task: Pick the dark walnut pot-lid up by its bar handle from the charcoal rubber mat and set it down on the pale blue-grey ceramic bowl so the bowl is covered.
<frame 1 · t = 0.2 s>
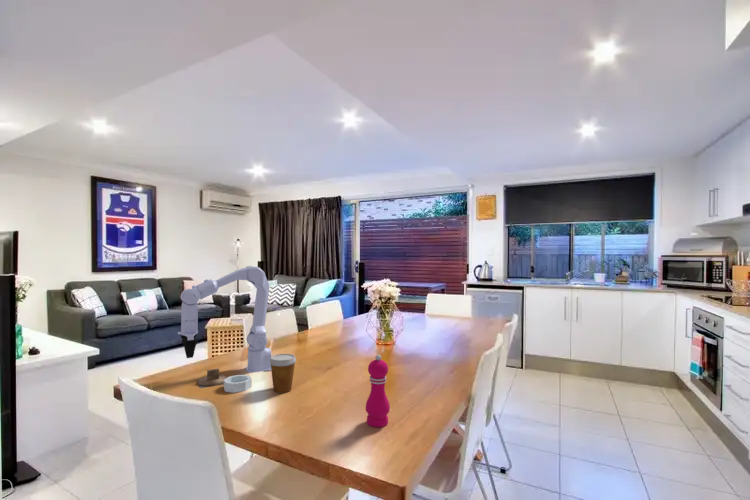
hand: (189, 355, 142), 10 cm above the table, fingers open, 7 cm apart
mat: (212, 382, 140), on the table
pepper mill: (377, 423, 109), on the table
disposable coffee cup: (282, 390, 134), on the table
lid: (213, 381, 140), resting on mat
bowl: (237, 388, 134), on the table
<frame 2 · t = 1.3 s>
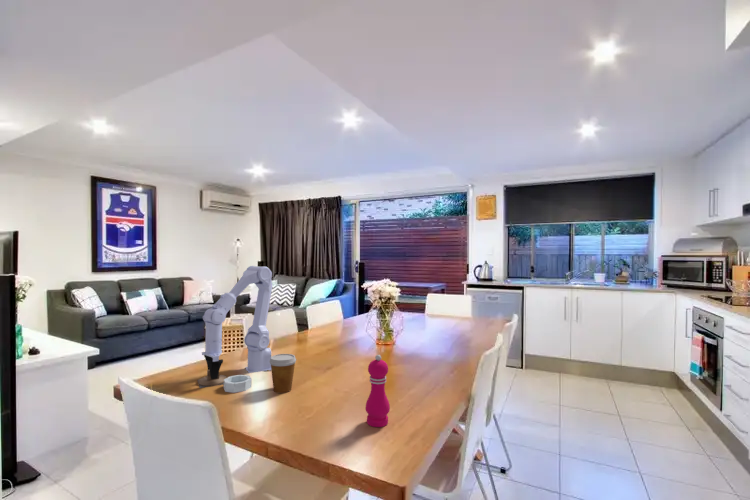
hand: (212, 375, 140), 3 cm above the table, fingers open, 7 cm apart
nothing on the table moved.
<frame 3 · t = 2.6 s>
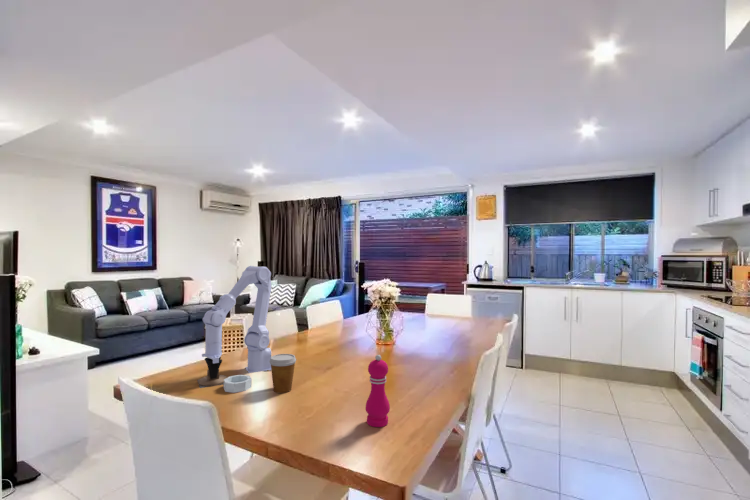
hand: (213, 377, 140), 2 cm above the table, fingers closed on lid, 2 cm apart
lid: (213, 381, 140), resting on mat, touching gripper
everything else where it was.
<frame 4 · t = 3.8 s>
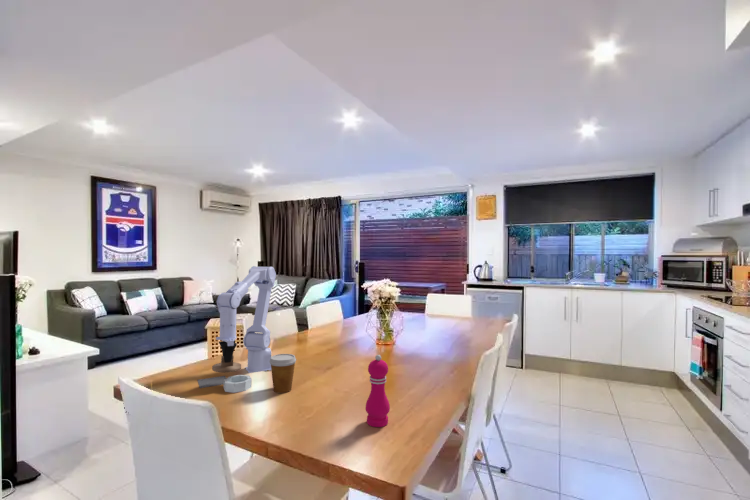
hand: (227, 361, 137), 9 cm above the table, fingers closed on lid
lid: (226, 368, 137), point 7 cm above the table, touching gripper
everything else where it was.
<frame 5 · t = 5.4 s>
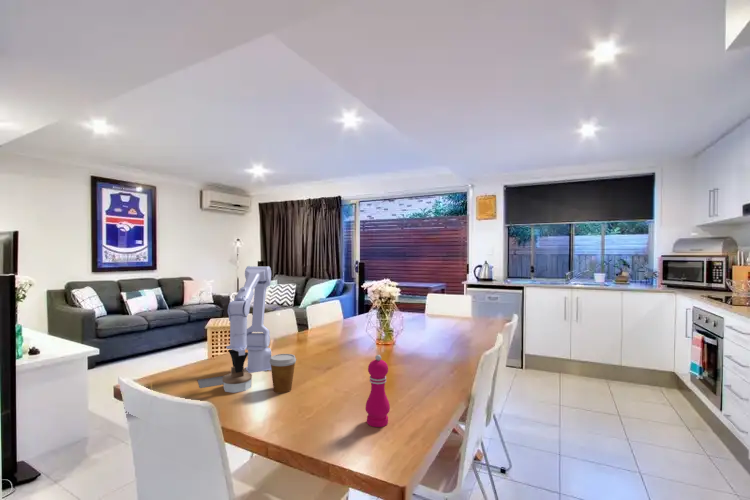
hand: (237, 370, 134), 7 cm above the table, fingers open, 3 cm apart
lid: (237, 379, 134), point 3 cm above the table, touching bowl
everything else where it was.
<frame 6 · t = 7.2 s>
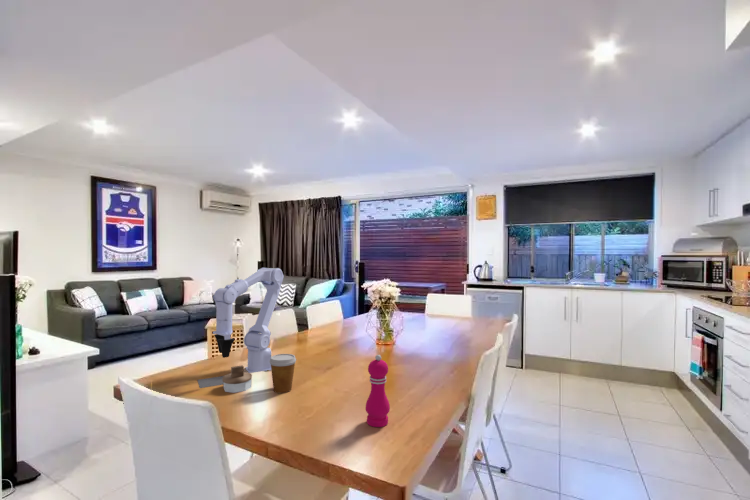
hand: (223, 354, 142), 10 cm above the table, fingers open, 7 cm apart
nothing on the table moved.
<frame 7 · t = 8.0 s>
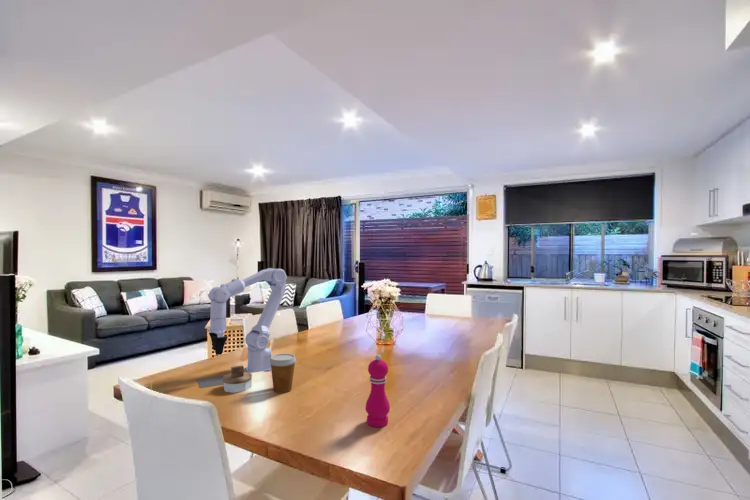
hand: (217, 352, 145), 10 cm above the table, fingers open, 7 cm apart
nothing on the table moved.
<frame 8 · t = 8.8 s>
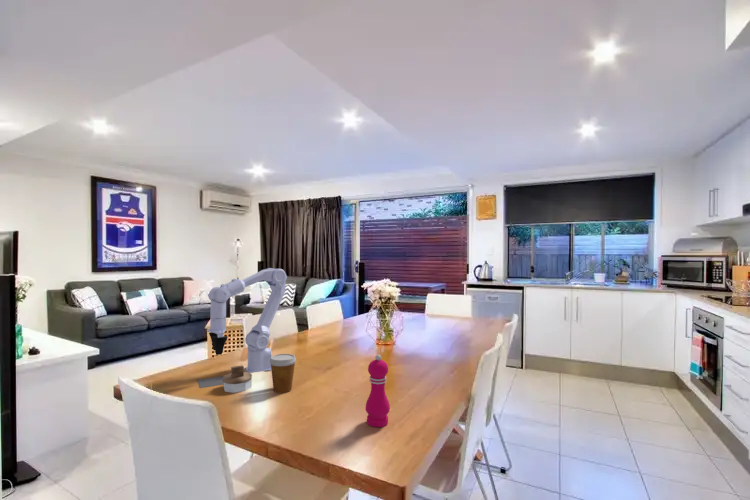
hand: (217, 352, 145), 10 cm above the table, fingers open, 7 cm apart
nothing on the table moved.
at the end: lid 0.1 cm from the bowl (horizontally); lid inside the target area (0.1 cm from its centre), point 3.5 cm above the table; lid tilted 0° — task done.
